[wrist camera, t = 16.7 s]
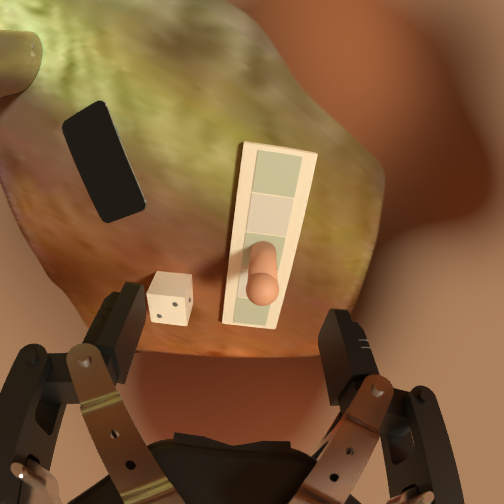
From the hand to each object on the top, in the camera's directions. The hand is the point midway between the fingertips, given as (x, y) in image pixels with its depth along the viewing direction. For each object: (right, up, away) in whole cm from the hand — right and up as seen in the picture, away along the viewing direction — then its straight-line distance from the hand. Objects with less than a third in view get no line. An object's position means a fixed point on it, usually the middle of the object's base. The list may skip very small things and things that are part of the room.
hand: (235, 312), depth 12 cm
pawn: (+2, +3, +24) cm, 25 cm away
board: (+2, +3, +25) cm, 25 cm away
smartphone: (-17, +14, +20) cm, 30 cm away
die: (-10, -2, +29) cm, 31 cm away
